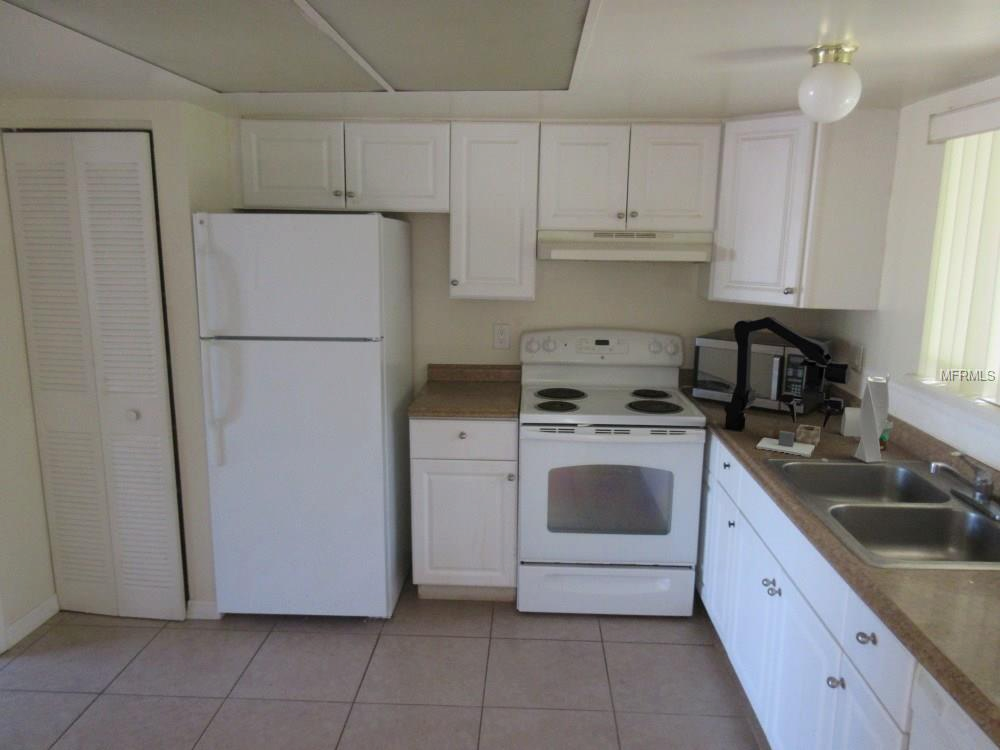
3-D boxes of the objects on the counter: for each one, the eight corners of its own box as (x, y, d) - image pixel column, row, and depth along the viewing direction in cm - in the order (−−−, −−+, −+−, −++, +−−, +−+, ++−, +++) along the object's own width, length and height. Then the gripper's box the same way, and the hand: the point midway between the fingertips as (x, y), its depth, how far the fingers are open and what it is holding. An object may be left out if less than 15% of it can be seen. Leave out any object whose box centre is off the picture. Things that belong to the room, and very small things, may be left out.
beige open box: (795, 443, 223) (796, 429, 222) (799, 438, 230) (800, 424, 229) (815, 447, 220) (817, 432, 219) (819, 441, 227) (820, 427, 226)
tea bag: (864, 437, 233) (867, 409, 231) (843, 436, 234) (846, 408, 233) (860, 434, 237) (863, 407, 235) (840, 433, 238) (843, 406, 236)
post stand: (756, 448, 217) (757, 432, 216) (763, 440, 227) (765, 424, 226) (809, 457, 209) (811, 440, 208) (814, 448, 219) (816, 432, 218)
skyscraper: (890, 464, 204) (902, 374, 198) (866, 465, 202) (878, 375, 197) (870, 455, 212) (881, 369, 207) (847, 456, 210) (858, 370, 205)
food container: (896, 453, 214) (900, 424, 213) (875, 452, 216) (879, 422, 214) (882, 443, 226) (886, 414, 224) (863, 441, 228) (866, 413, 226)
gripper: (779, 380, 219) (775, 425, 222) (842, 387, 210) (836, 435, 213) (785, 375, 229) (781, 419, 232) (846, 382, 219) (840, 427, 222)
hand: (808, 425), depth 224 cm, fingers open, 9 cm apart
